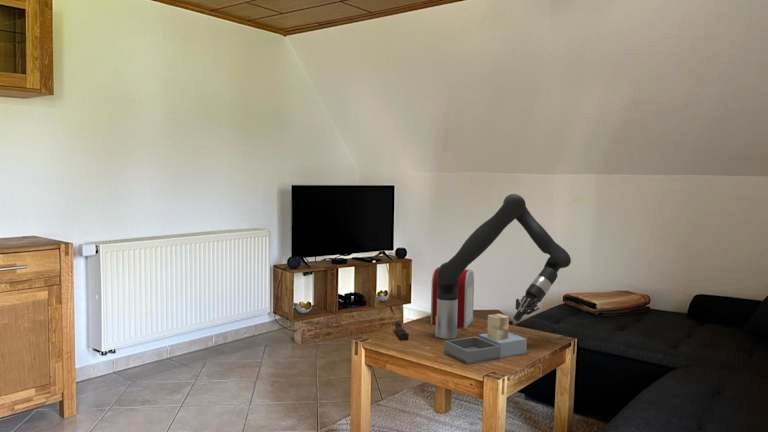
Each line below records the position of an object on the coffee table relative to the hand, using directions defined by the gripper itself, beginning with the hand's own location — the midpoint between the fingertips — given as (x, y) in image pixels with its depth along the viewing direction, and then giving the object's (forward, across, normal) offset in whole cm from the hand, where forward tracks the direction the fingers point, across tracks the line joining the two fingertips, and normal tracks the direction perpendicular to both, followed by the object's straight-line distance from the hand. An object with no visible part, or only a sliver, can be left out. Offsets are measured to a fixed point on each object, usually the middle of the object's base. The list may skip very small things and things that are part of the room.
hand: (515, 319), depth 253 cm
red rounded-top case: (+8, -48, +10) cm, 50 cm away
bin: (+25, 0, -7) cm, 26 cm away
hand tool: (+33, -39, -15) cm, 53 cm away
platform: (+14, 0, +4) cm, 14 cm away
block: (+11, 0, -2) cm, 11 cm away
